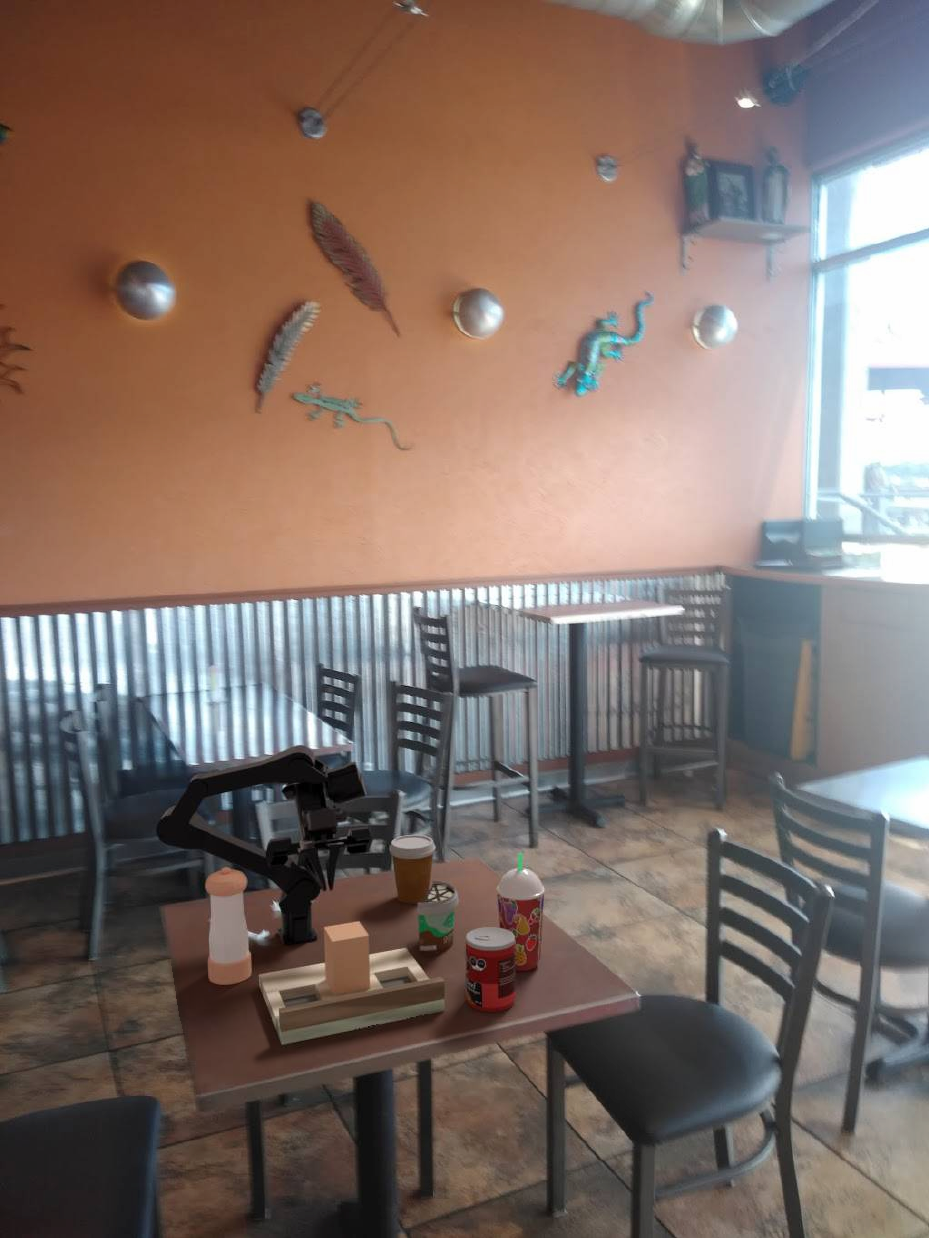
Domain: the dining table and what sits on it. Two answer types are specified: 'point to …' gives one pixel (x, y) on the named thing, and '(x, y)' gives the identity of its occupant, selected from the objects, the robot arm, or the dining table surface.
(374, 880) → the dining table surface
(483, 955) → the canned food
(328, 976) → the block
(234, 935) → the salt shaker
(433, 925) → the food container
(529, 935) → the smoothie
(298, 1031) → the board
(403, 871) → the disposable coffee cup
